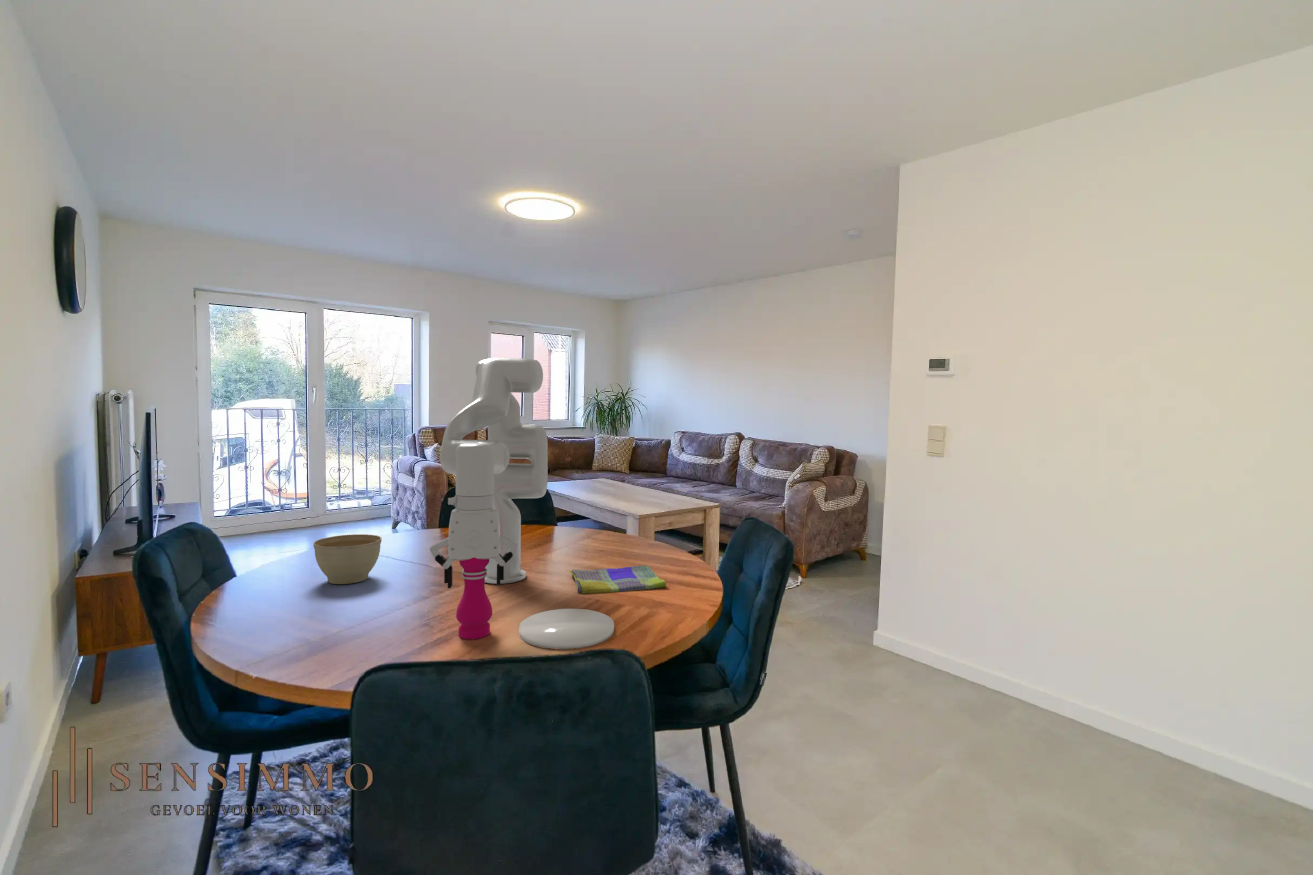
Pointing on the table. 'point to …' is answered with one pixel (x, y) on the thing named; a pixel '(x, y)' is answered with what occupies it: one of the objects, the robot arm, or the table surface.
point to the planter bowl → (347, 557)
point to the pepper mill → (474, 600)
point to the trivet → (566, 628)
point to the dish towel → (616, 579)
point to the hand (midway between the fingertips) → (474, 584)
